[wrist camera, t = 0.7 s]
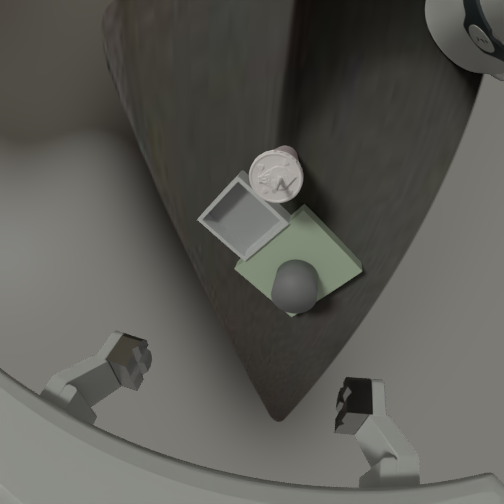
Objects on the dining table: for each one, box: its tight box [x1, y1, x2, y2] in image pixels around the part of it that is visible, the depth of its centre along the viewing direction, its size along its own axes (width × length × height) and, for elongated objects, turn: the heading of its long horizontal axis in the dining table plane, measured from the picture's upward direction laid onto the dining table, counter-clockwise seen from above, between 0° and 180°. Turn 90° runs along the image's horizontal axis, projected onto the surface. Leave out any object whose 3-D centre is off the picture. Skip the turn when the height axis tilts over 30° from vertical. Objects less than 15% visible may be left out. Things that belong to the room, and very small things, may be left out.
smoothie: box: [249, 146, 304, 203], centre depth 37 cm, size 6×6×14 cm
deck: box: [197, 170, 362, 317], centre depth 47 cm, size 16×24×8 cm, turn 48°
